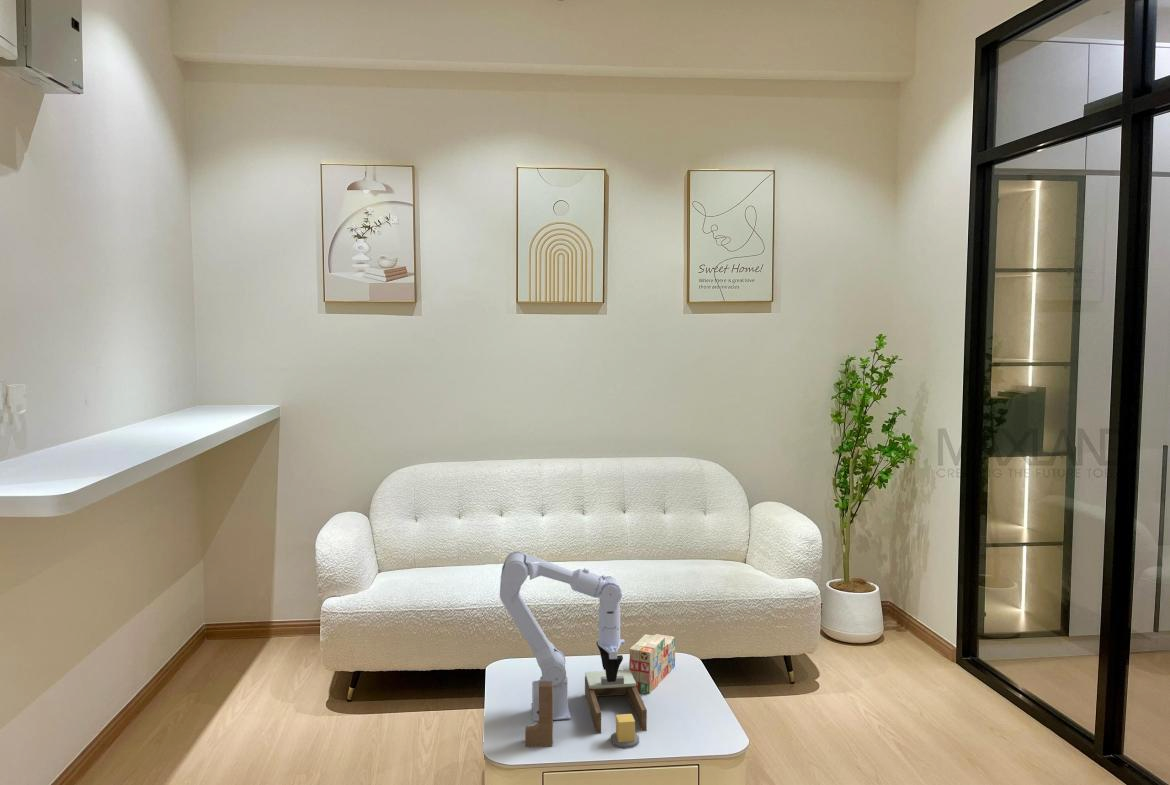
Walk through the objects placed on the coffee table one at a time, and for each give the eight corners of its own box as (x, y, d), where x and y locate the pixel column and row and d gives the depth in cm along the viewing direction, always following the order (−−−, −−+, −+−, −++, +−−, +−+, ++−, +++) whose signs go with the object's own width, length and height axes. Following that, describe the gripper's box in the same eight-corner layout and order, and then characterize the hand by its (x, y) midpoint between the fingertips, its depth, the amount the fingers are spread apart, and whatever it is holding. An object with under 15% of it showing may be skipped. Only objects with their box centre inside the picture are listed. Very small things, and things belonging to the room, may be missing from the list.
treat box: (596, 733, 201) (596, 713, 200) (584, 694, 223) (584, 676, 222) (646, 730, 202) (646, 710, 202) (630, 692, 224) (630, 673, 224)
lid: (589, 688, 214) (589, 679, 213) (585, 674, 223) (585, 666, 222) (636, 686, 215) (636, 677, 215) (629, 672, 224) (629, 663, 224)
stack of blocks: (655, 663, 245) (656, 623, 244) (675, 666, 242) (675, 626, 241) (628, 690, 226) (629, 648, 225) (649, 695, 223) (650, 651, 222)
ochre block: (618, 742, 195) (618, 722, 195) (615, 734, 199) (615, 714, 199) (634, 741, 195) (634, 721, 195) (631, 733, 199) (631, 713, 199)
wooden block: (552, 739, 198) (552, 680, 197) (552, 746, 194) (552, 686, 193) (526, 740, 198) (525, 680, 196) (525, 746, 194) (525, 686, 193)
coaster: (613, 748, 193) (613, 745, 193) (608, 734, 200) (608, 731, 200) (641, 747, 194) (641, 743, 194) (636, 733, 201) (636, 729, 201)
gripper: (628, 634, 204) (628, 686, 205) (620, 614, 218) (620, 663, 219) (601, 635, 203) (601, 687, 204) (594, 615, 217) (594, 664, 218)
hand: (609, 675), depth 212 cm, fingers open, 7 cm apart
